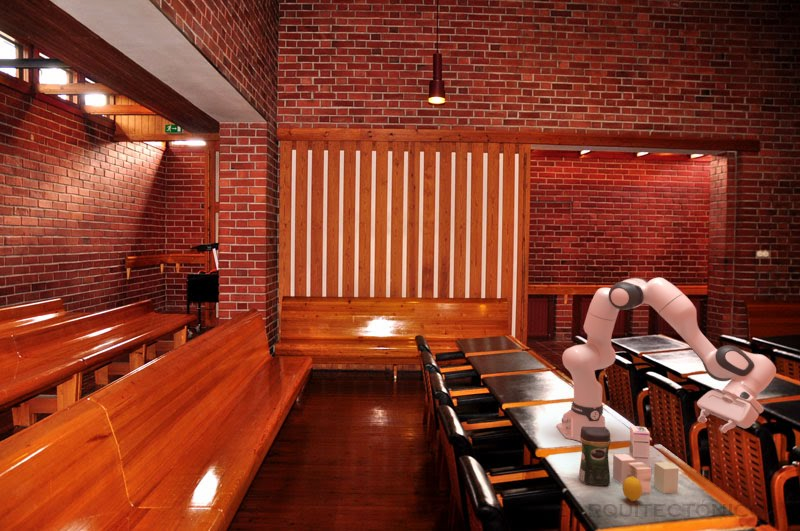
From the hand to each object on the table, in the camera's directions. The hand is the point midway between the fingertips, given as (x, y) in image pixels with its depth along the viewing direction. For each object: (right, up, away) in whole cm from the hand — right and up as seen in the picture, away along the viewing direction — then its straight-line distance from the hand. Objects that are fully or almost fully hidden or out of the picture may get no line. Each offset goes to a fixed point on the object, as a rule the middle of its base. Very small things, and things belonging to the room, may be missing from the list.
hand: (710, 426), depth 177 cm
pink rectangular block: (-27, -20, +4) cm, 34 cm away
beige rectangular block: (-16, -20, -2) cm, 26 cm away
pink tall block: (-25, -20, -2) cm, 32 cm away
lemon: (-31, -21, -10) cm, 38 cm away
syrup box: (-18, -20, +14) cm, 30 cm away
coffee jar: (-38, -20, +3) cm, 43 cm away
